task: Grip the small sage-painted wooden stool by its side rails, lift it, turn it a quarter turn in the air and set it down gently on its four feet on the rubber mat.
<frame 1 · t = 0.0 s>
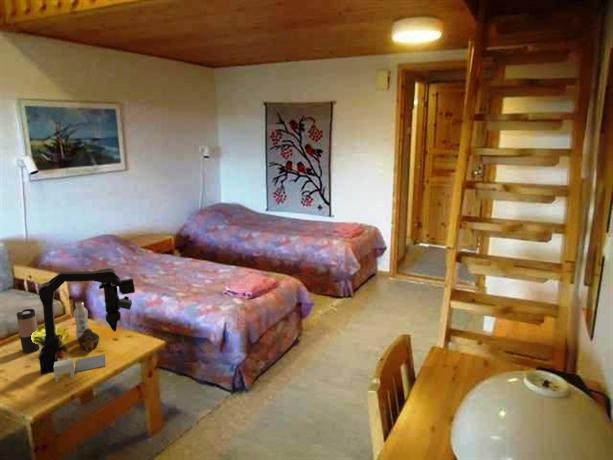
hand: (114, 327, 208), 15 cm above the table, tool pointing down, fingers open, 9 cm apart
travel mug: (31, 350, 219), on the table
decorative turtle: (89, 347, 221), on the table
plastic bottle: (83, 339, 230), on the table
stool: (65, 377, 193), on the table
mat: (91, 363, 205), on the table
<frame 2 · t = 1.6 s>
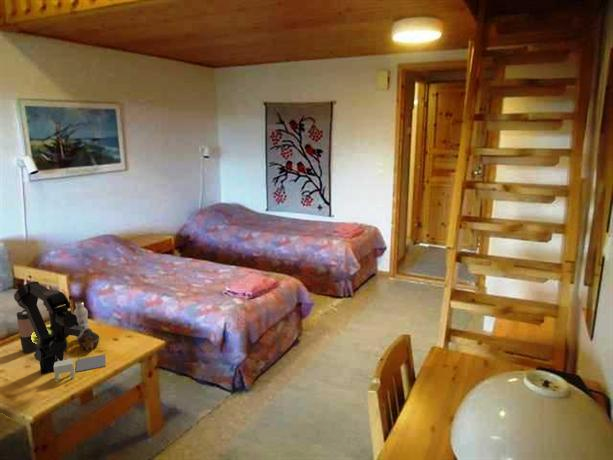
hand: (62, 355, 191), 10 cm above the table, tool pointing down, fingers open, 9 cm apart
nothing on the table moved.
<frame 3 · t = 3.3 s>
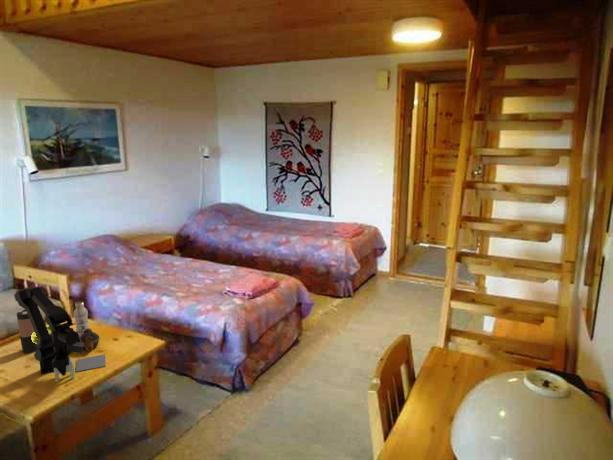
hand: (64, 372, 193), 3 cm above the table, tool pointing down, fingers closed on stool, 5 cm apart
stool: (65, 377, 193), on the table, touching gripper
everything else where it was.
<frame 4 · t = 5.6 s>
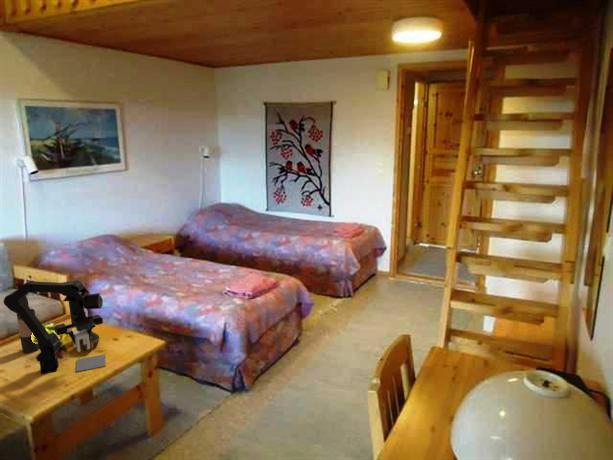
hand: (81, 342, 199), 12 cm above the table, tool pointing down, fingers closed on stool, 5 cm apart
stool: (82, 347, 200), point 10 cm above the table, touching gripper
everything else where it was.
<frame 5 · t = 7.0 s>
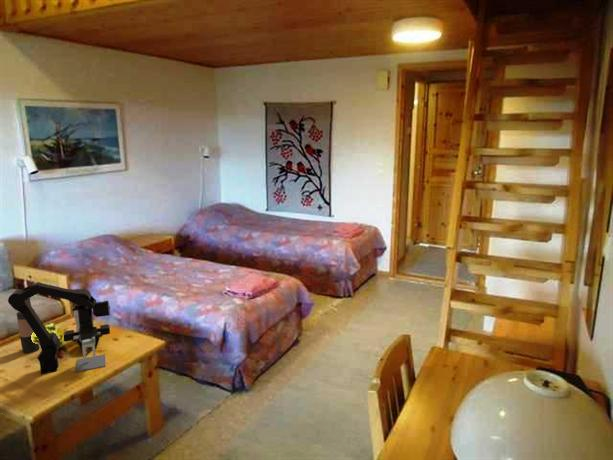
hand: (89, 349, 204), 7 cm above the table, tool pointing down, fingers closed on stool, 5 cm apart
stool: (89, 355, 204), point 4 cm above the table, touching gripper
everything else where it was.
when the fingers open (4 cm above the table, at t = 8.2 s): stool drops 1 cm, resting on mat.
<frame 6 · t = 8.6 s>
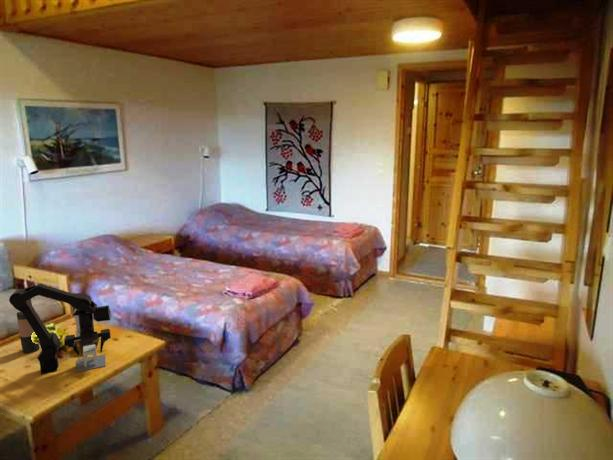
hand: (90, 354, 204), 4 cm above the table, tool pointing down, fingers open, 9 cm apart
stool: (90, 362, 205), resting on mat
everything else where it was.
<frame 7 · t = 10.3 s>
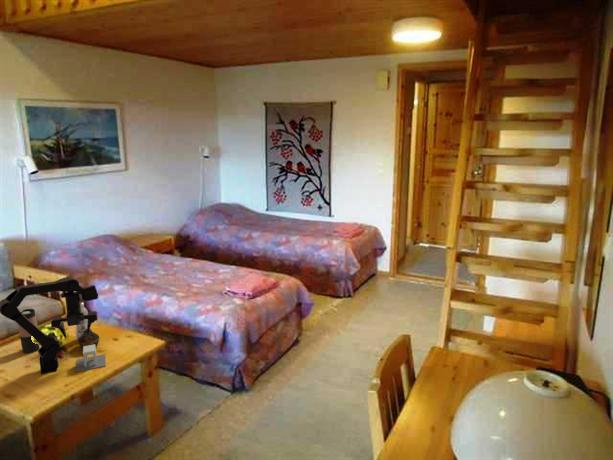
hand: (76, 336, 206), 12 cm above the table, tool pointing down, fingers open, 9 cm apart
nothing on the table moved.
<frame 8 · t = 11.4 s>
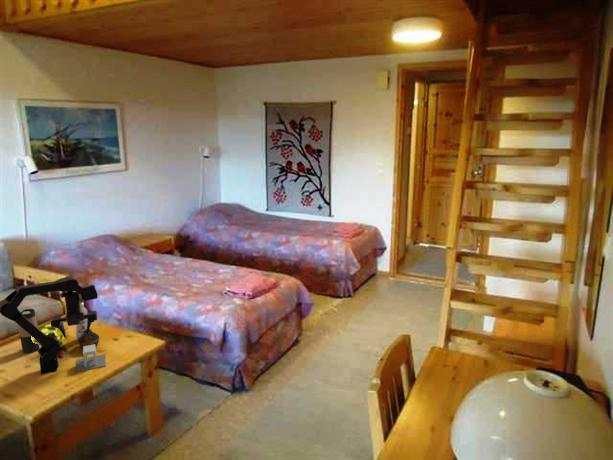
hand: (76, 335, 206), 12 cm above the table, tool pointing down, fingers open, 9 cm apart
nothing on the table moved.
at the end: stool 0.1 cm off-centre on the mat, point 0.4 cm above the mat's base; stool tilted 0°; the gripper is holding nothing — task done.
